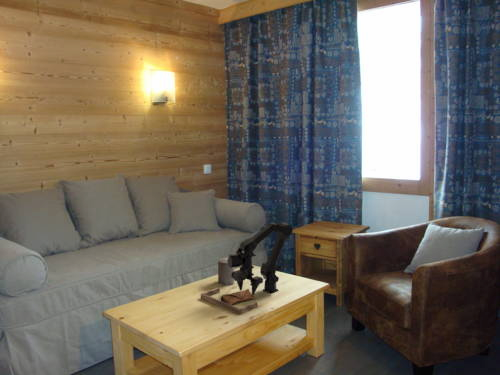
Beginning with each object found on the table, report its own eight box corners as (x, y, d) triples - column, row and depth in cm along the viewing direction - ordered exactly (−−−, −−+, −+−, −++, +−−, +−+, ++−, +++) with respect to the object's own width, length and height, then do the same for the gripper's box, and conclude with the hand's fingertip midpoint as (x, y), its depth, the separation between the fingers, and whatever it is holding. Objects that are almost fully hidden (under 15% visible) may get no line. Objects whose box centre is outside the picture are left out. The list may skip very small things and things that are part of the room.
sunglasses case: (229, 306, 233) (225, 293, 235) (223, 309, 238) (219, 296, 240) (257, 298, 243) (253, 286, 245) (250, 301, 249) (247, 289, 250)
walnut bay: (218, 291, 252) (218, 287, 252) (257, 306, 232) (257, 302, 232) (200, 298, 243) (200, 294, 243) (240, 314, 223) (240, 309, 223)
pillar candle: (214, 283, 266) (214, 258, 263) (225, 278, 274) (225, 254, 271) (227, 286, 260) (228, 261, 258) (238, 281, 268) (238, 257, 266)
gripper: (223, 264, 246) (224, 292, 248) (249, 272, 233) (249, 301, 235) (238, 259, 254) (238, 286, 256) (263, 267, 241) (263, 295, 243)
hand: (246, 292), depth 248 cm, fingers open, 9 cm apart
